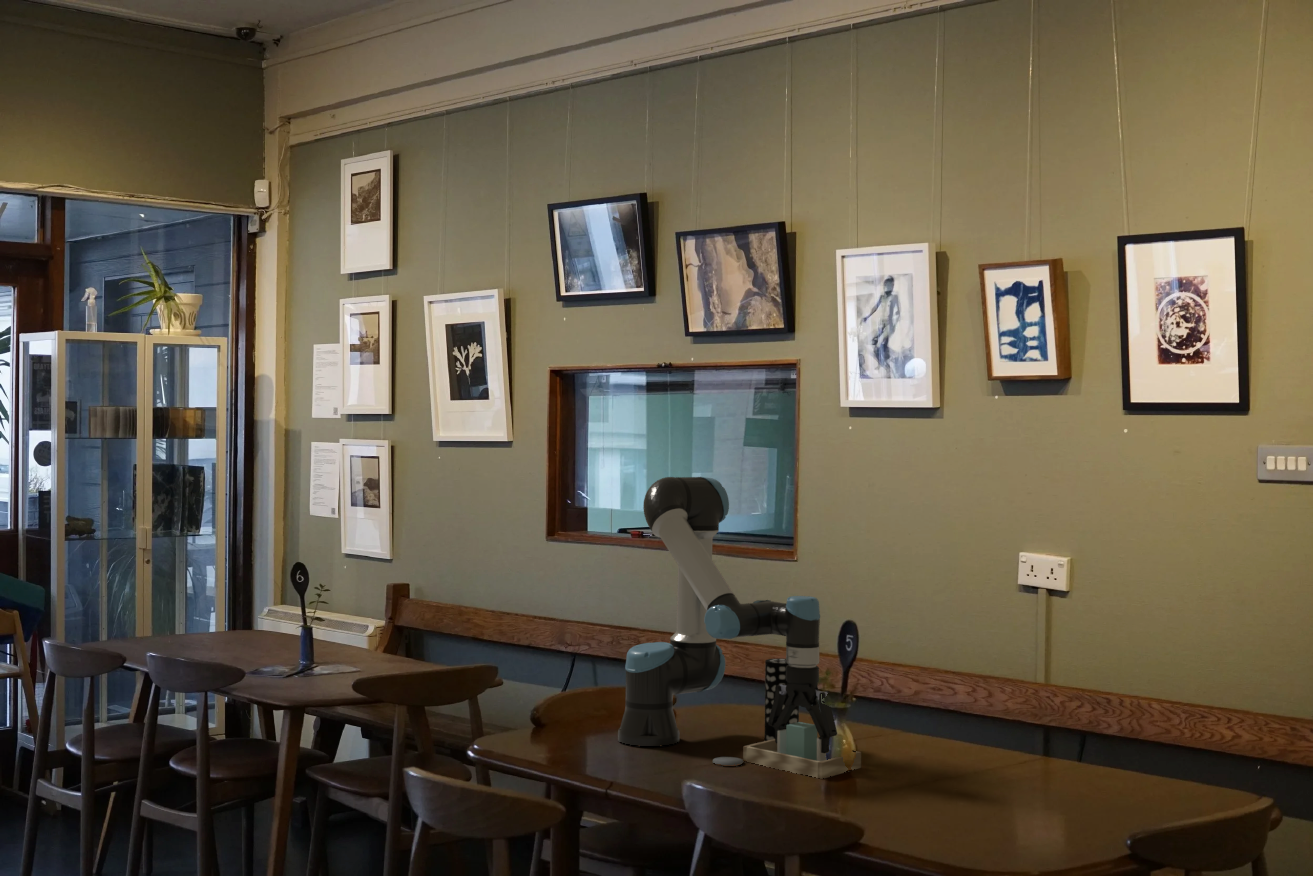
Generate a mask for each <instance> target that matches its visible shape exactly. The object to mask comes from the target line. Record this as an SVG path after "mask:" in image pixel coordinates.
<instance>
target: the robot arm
mask: <svg viewBox="0 0 1313 876" xmlns="http://www.w3.org/2000/svg"><path fill="white" fill-rule="evenodd" d="M729 509H730V500H729V496H728V493H727V490H726V488H725V487H724V486H723V485H722V483H721V482H720V481H718V480H717V479H714V478H711V477H703V476H686V477H685V476H684V477H681V476H680V477H679V476H667V477H663V478H660V479H658V480H656V481H654V482H653V483H652V484H651V486H650V487H649V488H648V490H647V491H646V493H645V495H644V499H643V507H642V510H643V514H644V518H645V521H646V523H647V525H648V528H649V529H650V531H651V532H652V534H653V535H654V536H655V537H658V538H660V539H661V540H662V542H663V544H664V545H665V547H666V549H667V551H669V554H670V555H671V557H672V558H673V560H674V561H675V563H676V564H677V596H676V597H677V598H676V602H677V603H676V631H675V632H674V633H673V635H672V636H670V639H669V640H670V642H664V641H655V642H646V643H640V644H637V645H633V646H632V647H630V648H629V650H628V651H627V653H626V660H625V666H624V667H625V705H624V706H625V708H624V712H623V715H622V718H621V723H620V727H619V728H618V731H617V741H618V742H619V743H620V742H622V743H621V744H623V743H625V744H624V745H626V744H630V745H629V746H631V745H640V746H660V745H669V744H673V745H675V744H674V743H676V744H678V743H679V742H680V729H679V728H678V725H677V721H676V716H675V713H674V707H673V705H674V704H673V703H674V702H673V701H674V699H673V698H674V695H682V694H683V695H684V694H690V693H702V692H704V691H708V690H713V689H714V688H715V687H717V686H718V684H719V683H721V681H722V680H723V677H724V675H725V671H726V658H725V654H723V652H724V651H723V649H722V648H721V647H720V646H719V645H718V644H717V639H720V640H731V639H734V638H735V639H737V638H745V637H756V636H764V635H765V636H767V635H774V636H775V635H776V636H783V637H785V641H786V642H785V645H786V646H785V648H786V649H785V650H786V652H785V653H786V655H785V659H786V662H787V663H788V664H789V665H787V666H786V681H787V685H786V686H785V685H784V684H782V685H776V686H775V698H774V702H773V706H772V709H771V713H770V717H769V720H768V725H769V726H772V727H774V729H775V742H776V743H777V752H778V753H783V754H786V729H783V728H786V727H785V725H786V723H787V722H788V720H789V718H790V716H791V714H792V712H793V710H794V709H795V707H796V706H799V707H802V708H805V710H806V711H807V712H808V713H809V715H810V718H811V720H812V722H813V725H815V727H816V729H817V735H819V737H817V761H824V760H826V757H825V756H826V753H828V752H829V746H830V738H832V737H836V736H837V735H838V730H837V726H836V723H835V717H834V714H833V710H832V706H831V707H829V706H827V705H825V704H822V703H821V694H822V699H823V698H825V697H826V696H827V694H828V693H830V694H831V692H830V691H828V690H826V691H822V690H820V689H819V687H818V686H819V685H818V684H819V681H820V667H819V666H818V665H819V664H820V624H821V623H820V622H821V621H820V619H821V614H820V612H821V611H820V601H819V599H818V598H817V597H815V596H810V595H809V596H806V595H792V596H789V597H787V599H786V603H784V602H777V601H772V600H771V599H770V600H768V599H765V600H761V599H760V600H755V601H753V602H750V603H749V602H748V603H741V602H740V601H739V600H738V598H737V597H736V594H734V592H733V590H732V589H731V588H730V586H729V584H728V582H727V581H726V580H725V578H724V577H723V575H722V573H721V571H720V569H719V568H718V567H717V566H716V564H715V562H714V560H713V540H714V539H713V538H714V537H715V536H716V535H717V533H719V531H720V530H719V529H720V523H722V522H723V521H725V519H726V517H727V515H728V513H729V512H730V511H729ZM786 693H787V694H788V696H789V697H788V699H787V701H786V703H785V707H784V709H783V710H782V708H783V704H784V700H785V696H786ZM822 702H823V703H825V702H824V701H822ZM781 711H782V712H781ZM677 742H678V743H677ZM640 746H639V747H640ZM669 746H670V745H669ZM660 747H661V746H660Z"/></svg>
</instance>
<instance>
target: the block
mask: <svg viewBox="0 0 1313 876" xmlns="http://www.w3.org/2000/svg"><path fill="white" fill-rule="evenodd" d="M817 738H818V731H817V729H816V727H815V725H814V723H813V724H812V723H808V722H802V721H799V722H797V723H793V724H789V725H786V754H788V755H792V756H797V757H802V758H807V759H811V760H816V761H817Z"/></svg>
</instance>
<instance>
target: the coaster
mask: <svg viewBox="0 0 1313 876" xmlns="http://www.w3.org/2000/svg"><path fill="white" fill-rule="evenodd" d="M743 762H744V761H743V758H739V757H733V756H720V757H715V758H713V759H712V764H713V763H715V764H721V765H734V764H735V765H737V764H742V763H743ZM744 763H745V762H744Z"/></svg>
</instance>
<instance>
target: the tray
mask: <svg viewBox="0 0 1313 876" xmlns="http://www.w3.org/2000/svg"><path fill="white" fill-rule="evenodd" d="M742 749H743V750H742V751H743V752H742V760H746V761H747V762H751V763H755V764H759V765H758V766H760V765H763V766H762V767H764V766H766V768H769V767H771V768H770V769H773V768H775V769H774V770H778V769H779V771H782V770H785V771H784V772H787V771H790V772H789V773H791V772H792V773H791V774H796V773H797V774H796V775H800V774H803V775H802V776H805V775H808V776H807V777H809V776H812V777H811V778H814V777H816V778H815V779H818V778H820V779H819V780H823V778H824V779H827V778H831V777H834V776H837V775H841V774H844V772H845V773H847V772H846V771H847V770H848V768H847V767H846V766H845V763H844V762H843V757H835V758H831V759H828V760H824V761H816V760H811V759H807V758H802V757H797V756H792V755H788V754H783V753H778V752H777V743H776V742H775V739H772V740H768V741H765V740H764V741H759V742H757V743H756V742H755V743H751V744H747V745H744V746H743V747H742ZM855 751H856V750H855ZM751 763H750V764H751ZM755 764H754V765H755ZM861 768H862V751H858V750H857V751H856V758H855V759H854V763H853V765H852V767H851V769H852V771H855V770H858V769H861ZM854 769H855V770H854ZM830 776H831V777H830Z"/></svg>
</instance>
